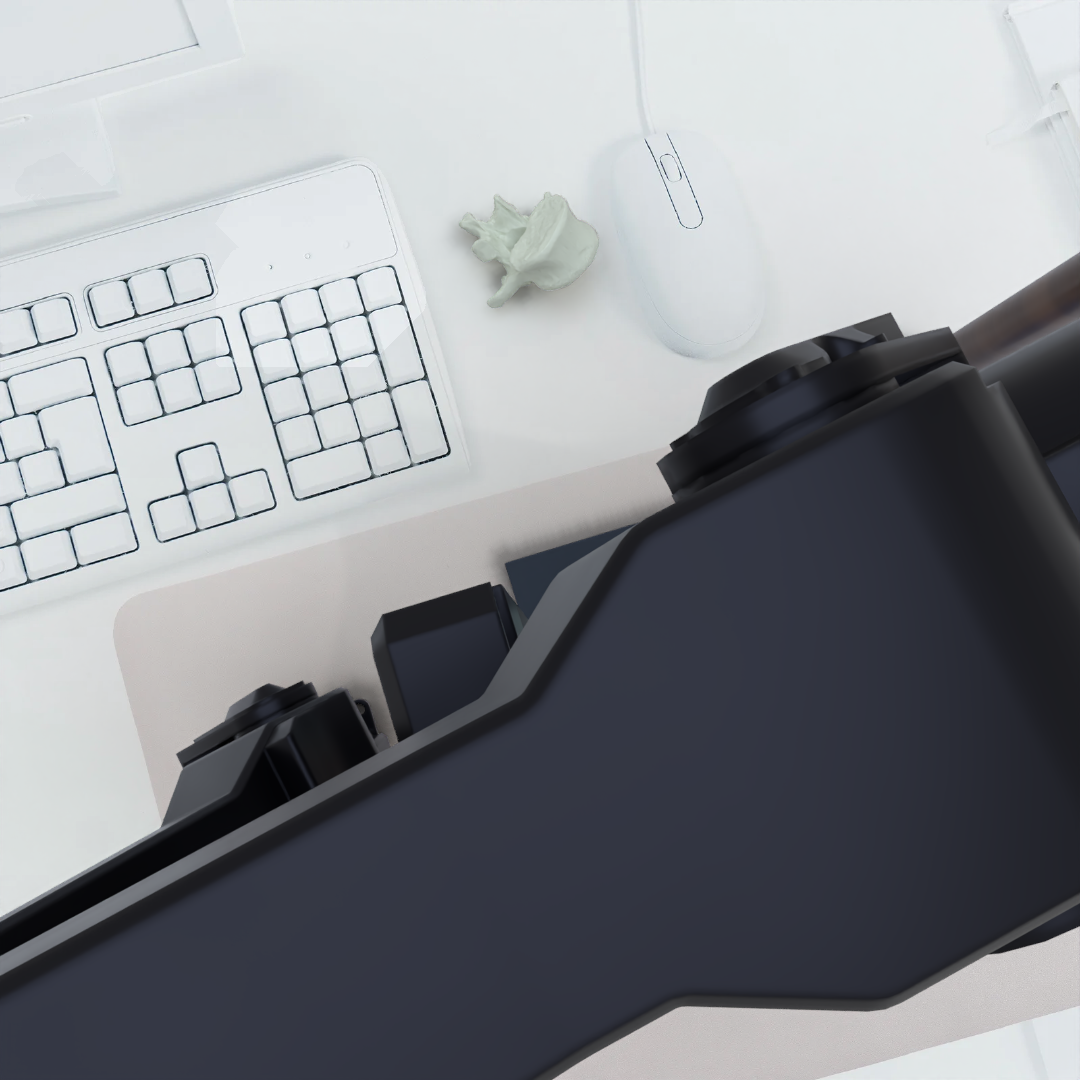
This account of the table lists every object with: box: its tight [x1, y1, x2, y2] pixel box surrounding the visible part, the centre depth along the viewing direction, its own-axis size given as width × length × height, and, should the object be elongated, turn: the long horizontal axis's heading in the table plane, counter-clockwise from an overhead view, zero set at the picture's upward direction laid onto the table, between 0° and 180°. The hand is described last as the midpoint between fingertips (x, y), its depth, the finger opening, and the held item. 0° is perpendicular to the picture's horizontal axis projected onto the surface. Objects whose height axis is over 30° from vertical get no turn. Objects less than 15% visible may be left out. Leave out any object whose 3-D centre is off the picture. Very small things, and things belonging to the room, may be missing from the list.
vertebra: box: [458, 191, 600, 309], centre depth 50 cm, size 6×7×4 cm
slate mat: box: [504, 521, 640, 620], centre depth 50 cm, size 9×9×1 cm
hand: (654, 624), depth 40 cm, fingers open, 9 cm apart
